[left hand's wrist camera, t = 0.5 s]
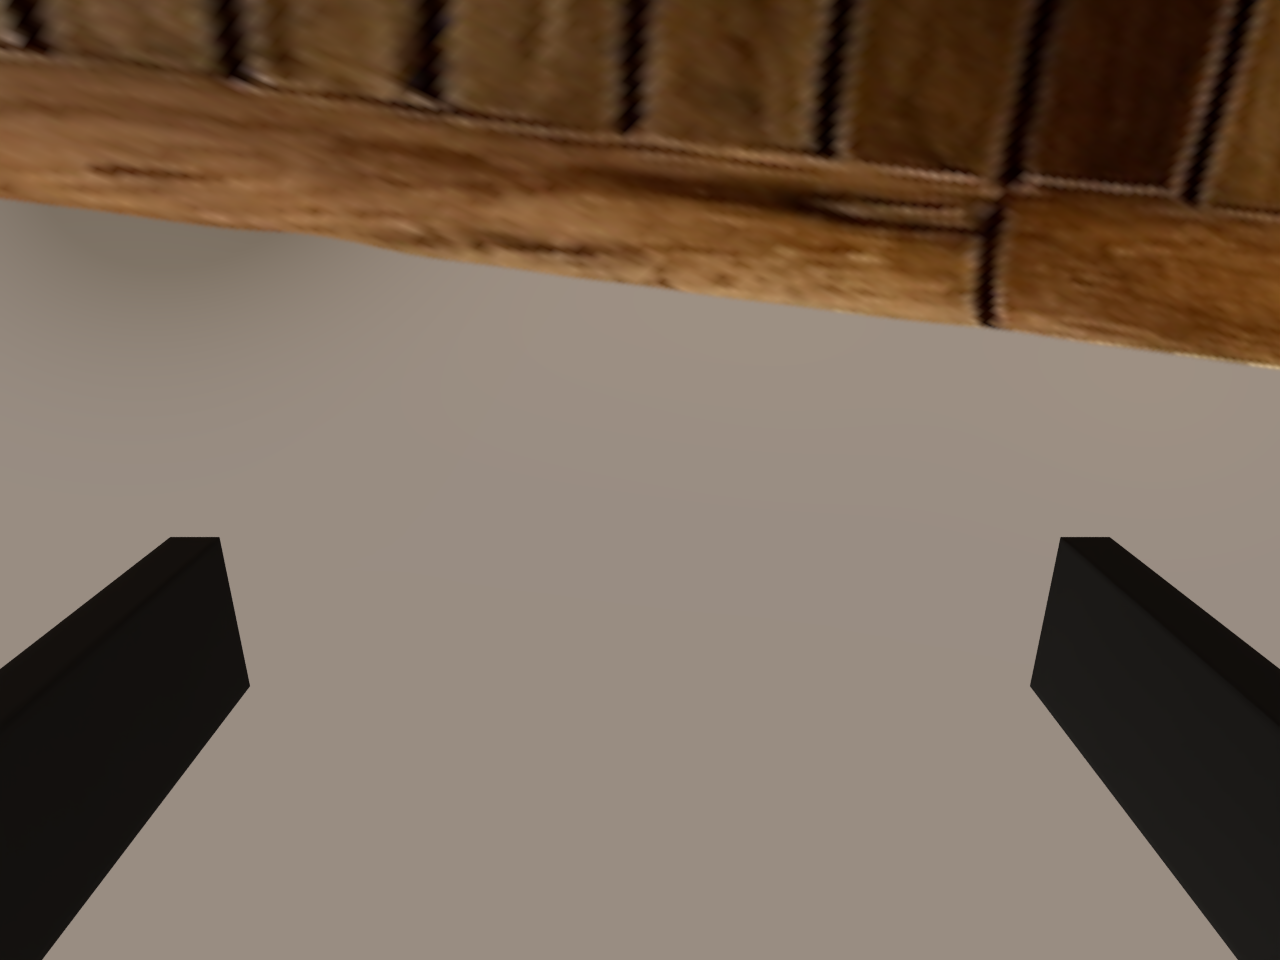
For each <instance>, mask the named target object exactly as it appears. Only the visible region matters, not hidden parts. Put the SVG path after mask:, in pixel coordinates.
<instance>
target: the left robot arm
mask: <svg viewBox="0 0 1280 960" xmlns="http://www.w3.org/2000/svg"><path fill="white" fill-rule="evenodd" d="M249 687H250V684H249V679H248V674H247V669H246V664H245V660H244V655H243V650H242V645H241V640H240V635H239V630H238V625H237V621H236V616H235V611H234V606H233V601H232V596H231V591H230V587H229V582H228V577H227V572H226V567H225V562H224V557H223V552H222V548H221V543H220V538H219V537H170V538H169V539H167V540H166V541H165V542H163V543H162V544H161V545H160V546H158V547H157V548H156V549H154V550H153V551H152V552H151V553H149V554H148V555H147V556H145V557H144V558H143V559H142V560H140V561H139V562H138V563H136V564H135V565H134V566H133V567H131V568H130V569H129V570H127V571H126V572H125V573H123V574H122V575H121V576H120V577H118V578H117V579H116V580H114V581H113V582H112V583H111V584H109V585H108V586H107V587H105V588H104V589H103V590H102V591H100V592H99V593H98V594H96V595H95V596H94V597H93V598H91V599H90V600H89V601H87V602H86V603H85V604H84V605H82V606H81V607H80V608H78V609H77V610H76V611H75V612H73V613H72V614H71V615H69V616H68V617H67V618H65V619H64V620H63V621H62V622H60V623H59V624H58V625H56V626H55V627H54V628H53V629H51V630H50V631H49V632H47V633H46V634H45V635H44V636H42V637H41V638H40V639H38V640H37V641H36V642H35V643H33V644H32V645H31V646H29V647H28V648H27V649H25V650H24V651H23V652H22V653H20V654H19V655H18V656H17V657H15V658H14V659H13V660H11V661H10V662H9V663H7V664H6V665H5V666H4V667H2V668H1V669H0V960H42V959H43V958H44V956H45V955H46V954H47V953H48V951H49V950H50V949H51V947H52V946H53V945H54V943H55V942H56V941H57V939H58V938H59V937H60V935H61V934H62V933H63V931H64V930H65V929H66V928H67V926H68V925H69V924H70V922H71V921H72V920H73V918H74V917H75V916H76V914H77V913H78V912H79V910H80V909H81V908H82V906H83V905H84V904H85V902H86V901H87V900H88V899H89V897H90V896H91V895H92V893H93V892H94V891H95V889H96V888H97V887H98V885H99V884H100V883H101V881H102V880H103V879H104V877H105V876H106V875H107V874H108V872H109V871H110V870H111V868H112V867H113V866H114V864H115V863H116V862H117V860H118V859H119V858H120V856H121V855H122V854H123V853H124V851H125V850H126V849H127V847H128V846H129V845H130V843H131V842H132V841H133V839H134V838H135V837H136V835H137V834H138V833H139V831H140V830H141V829H142V827H143V826H144V825H145V824H146V822H147V821H148V820H149V818H150V817H151V816H152V814H153V813H154V812H155V810H156V809H157V808H158V806H159V805H160V804H161V803H162V801H163V800H164V799H165V797H166V796H167V795H168V793H169V792H170V791H171V789H172V788H173V787H174V785H175V784H176V783H177V781H178V780H179V779H180V777H181V776H182V775H183V774H184V772H185V771H186V770H187V768H188V767H189V766H190V764H191V763H192V762H193V760H194V759H195V758H196V756H197V755H198V754H199V753H200V751H201V750H202V748H203V747H204V746H205V745H206V743H207V742H208V741H209V739H210V738H211V737H212V735H213V734H214V733H215V731H216V730H217V729H218V727H219V726H220V725H221V723H222V722H223V721H224V720H225V718H226V717H227V716H228V714H229V713H230V712H231V710H232V709H233V708H234V706H235V705H236V704H237V702H238V701H239V700H240V699H241V697H242V696H243V695H244V693H245V692H246V691H247V689H248V688H249ZM1030 687H1031V688H1032V689H1033V691H1034V692H1035V693H1036V695H1037V696H1038V697H1039V699H1040V700H1041V701H1042V702H1043V704H1044V705H1045V706H1046V708H1047V709H1048V710H1049V712H1050V713H1051V714H1052V716H1053V717H1054V718H1055V720H1056V721H1057V722H1058V723H1059V725H1060V726H1061V727H1062V729H1063V730H1064V731H1065V733H1066V734H1067V735H1068V737H1069V738H1070V739H1071V741H1072V742H1073V743H1074V745H1075V746H1076V747H1077V748H1078V750H1079V751H1080V753H1081V754H1082V755H1083V756H1084V758H1085V759H1086V760H1087V762H1088V763H1089V764H1090V766H1091V767H1092V768H1093V770H1094V771H1095V772H1096V774H1097V775H1098V776H1099V778H1100V779H1101V780H1102V781H1103V783H1104V784H1105V785H1106V787H1107V788H1108V789H1109V791H1110V792H1111V793H1112V795H1113V796H1114V797H1115V799H1116V800H1117V801H1118V803H1119V804H1120V805H1121V806H1122V808H1123V809H1124V810H1125V812H1126V813H1127V814H1128V816H1129V817H1130V818H1131V820H1132V821H1133V822H1134V824H1135V825H1136V826H1137V828H1138V829H1139V830H1140V831H1141V833H1142V834H1143V835H1144V837H1145V838H1146V839H1147V841H1148V842H1149V843H1150V845H1151V846H1152V847H1153V848H1154V850H1155V851H1156V853H1157V854H1158V855H1159V856H1160V858H1161V859H1162V860H1163V862H1164V863H1165V864H1166V866H1167V867H1168V868H1169V870H1170V871H1171V872H1172V874H1173V875H1174V876H1175V878H1176V879H1177V880H1178V881H1179V883H1180V884H1181V885H1182V887H1183V888H1184V889H1185V891H1186V892H1187V893H1188V895H1189V896H1190V897H1191V899H1192V900H1193V901H1194V903H1195V904H1196V905H1197V906H1198V908H1199V909H1200V910H1201V912H1202V913H1203V914H1204V916H1205V917H1206V918H1207V920H1208V921H1209V922H1210V923H1211V925H1212V926H1213V928H1214V929H1215V930H1216V931H1217V933H1218V934H1219V935H1220V937H1221V938H1222V939H1223V941H1224V942H1225V943H1226V945H1227V946H1228V947H1229V949H1230V950H1231V951H1232V953H1233V954H1234V955H1235V956H1236V958H1237V959H1238V960H1280V669H1279V668H1278V667H1276V666H1275V665H1274V664H1272V663H1271V662H1270V661H1269V660H1267V659H1266V658H1265V657H1263V656H1262V655H1261V654H1260V653H1258V652H1257V651H1256V650H1254V649H1253V648H1252V647H1251V646H1249V645H1248V644H1247V643H1245V642H1244V641H1243V640H1242V639H1240V638H1239V637H1238V636H1236V635H1235V634H1234V633H1233V632H1231V631H1230V630H1229V629H1227V628H1226V627H1225V626H1224V625H1222V624H1221V623H1220V622H1218V621H1217V620H1216V619H1215V618H1213V617H1212V616H1211V615H1209V614H1208V613H1207V612H1205V611H1204V610H1203V609H1202V608H1200V607H1199V606H1198V605H1196V604H1195V603H1194V602H1193V601H1191V600H1190V599H1189V598H1187V597H1186V596H1185V595H1184V594H1182V593H1181V592H1180V591H1178V590H1177V589H1176V588H1175V587H1173V586H1172V585H1171V584H1169V583H1168V582H1167V581H1166V580H1164V579H1163V578H1162V577H1160V576H1159V575H1158V574H1156V573H1155V572H1154V571H1153V570H1151V569H1150V568H1149V567H1147V566H1146V565H1145V564H1144V563H1142V562H1141V561H1140V560H1138V559H1137V558H1136V557H1135V556H1133V555H1132V554H1131V553H1129V552H1128V551H1127V550H1126V549H1124V548H1123V547H1122V546H1120V545H1119V544H1118V543H1116V542H1115V541H1114V540H1113V539H1111V538H1110V537H1061V538H1060V543H1059V548H1058V552H1057V557H1056V562H1055V567H1054V572H1053V577H1052V582H1051V586H1050V591H1049V596H1048V601H1047V606H1046V611H1045V616H1044V621H1043V625H1042V631H1041V635H1040V640H1039V645H1038V650H1037V655H1036V660H1035V665H1034V669H1033V674H1032V679H1031V684H1030Z"/></svg>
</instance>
